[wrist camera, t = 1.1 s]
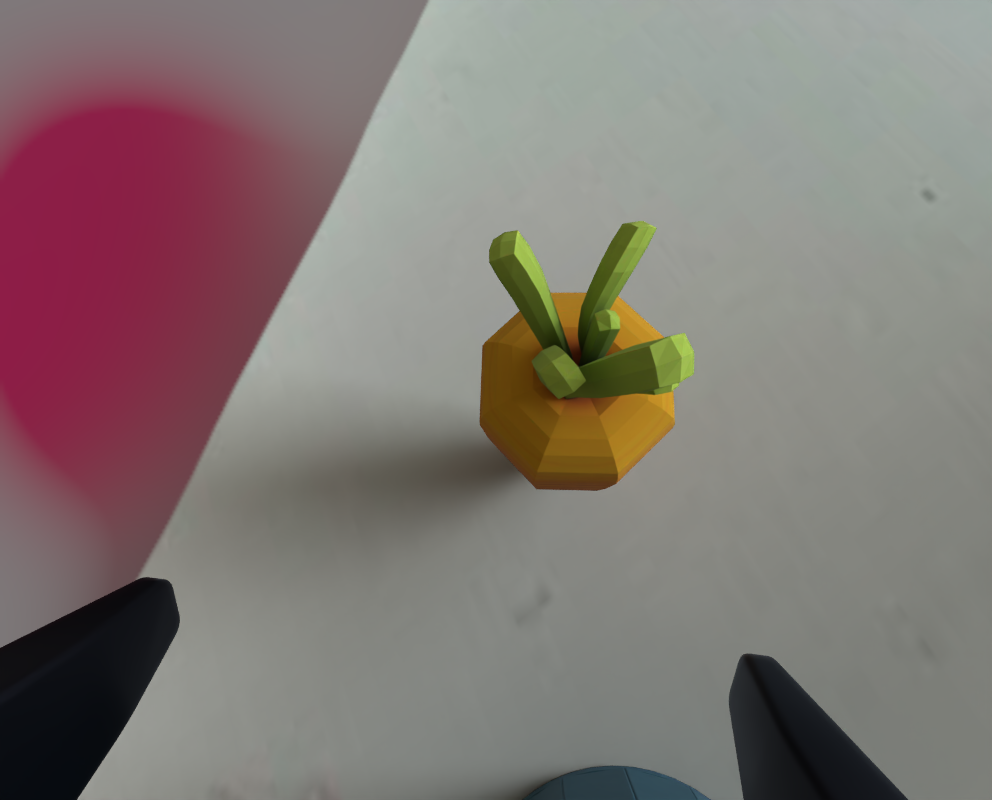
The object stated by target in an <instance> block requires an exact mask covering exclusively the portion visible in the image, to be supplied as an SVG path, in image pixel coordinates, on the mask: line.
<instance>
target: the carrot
mask: <svg viewBox="0 0 992 800" xmlns="http://www.w3.org/2000/svg"><path fill="white" fill-rule="evenodd" d="M656 229H657V228H655V227H654V226H652V225H650V224H648V223H646V222H644V221H638V222H632V223H625V224H622V226H621V227H620V229H619V230H618V232H617V234H616V235H615V237H614V238H613V240H612V241H611V243H610V245H609V247H608V249H607V251H606V253H605V255H604V257H603V258H602V260H601V262H600V264H599V267H598V269H597V271H596V273H595V275H594V278H593V280H592V282H591V284H590V286H589V289H588V291H587V293H550V290H549V288H548V285H547V282H546V279H545V277H544V274H543V271H542V269H541V267H540V265H539V263H538V261H537V259H536V258H535V256H534V254H533V252H532V250H531V248H530V246H529V245H528V243H527V242H526V241H525V239H524V238H523V237H522V236H521V234H520V233H519V232H518V230H517V231H510V232H504V233H503V234H501V235H500V236H498V237H497V238H495V239H493V242H492V244H491V247H490V249H489V263H490V264H491V266H492V268H493V270H494V271H495V273H496V275H497V277H498V278H499V280H500V281H501V283H502V284H503V286H504V287H505V288H506V290H507V291H508V293H509V294H510V296H511V297H512V299H513V300H514V302H515V304H516V305H517V307H518V309H519V310H520V311H519V312H518V313H517V314H516V315H515V316H514V317H512V318H511V319H510V320H509V321H508V322H507V323H506V324H505V325H504V326H503V327H502V328H500V329H499V330H498V331H497V332H496V333H495V334H494V335H493V336H492V337H491V338H489V339H488V340H487V341H486V342H485V343H484V345H483V348H482V374H481V400H480V426H481V427H482V429H483V431H484V432H485V434H486V435H487V437H488V438H489V439H490V440H491V441H492V443H493V444H494V445H495V446H496V447H497V448H498V449H499V450H500V451H501V452H502V453H503V454H504V455H505V456H506V458H507V459H508V460H509V461H510V462H511V463H512V464H513V465H514V466H515V467H516V468H517V469H518V470H519V471H520V472H521V473H522V474H523V475H524V476H525V477H526V478H527V479H528V481H529V482H530V483H531V484H532V485H533V486H534V487H535V488H536V489H553V490H593V491H597V490H601V489H606V488H608V487H610V486H612V485H614V484H616V483H617V482H618V481H619V480H620V479H621V478H622V477H623V476H624V475H625V474H626V473H627V472H628V471H629V470H630V469H631V468H632V467H634V466H635V465H636V464H637V463H638V462H639V461H640V460H641V459H642V458H643V457H644V456H645V455H646V454H647V453H648V452H649V451H650V450H651V449H652V448H653V447H654V446H655V445H656V444H657V443H658V442H659V441H660V440H661V439H662V438H663V437H664V436H665V435H666V434H667V433H668V432H669V431H670V430H671V429H672V428H673V426H674V425H675V418H674V395H673V390H674V389H675V388H677V387H678V386H679V382H682V381H683V380H685V379H686V378H688V377H690V376H691V375H693V374H694V351H693V349H692V347H691V345H690V343H689V341H688V339H687V337H686V335H685V333H682V334H678V335H673V336H669V337H665V338H664V337H663V336H662V335H661V334H660V333H659V332H658V331H656V330H655V329H654V328H653V327H652V326H651V325H650V324H649V323H648V322H646V321H645V320H644V319H643V318H642V317H641V316H640V315H639V314H638V313H636V312H635V311H634V310H633V309H632V308H631V307H630V306H629V305H627V304H626V303H625V302H624V301H623V300H622V299H621V298H620V297H619V296H618V295H619V293H620V291H621V290H622V288H623V286H624V285H625V283H626V282H627V280H628V278H629V277H630V275H631V273H632V272H633V270H634V268H635V267H636V265H637V263H638V262H639V260H640V258H641V257H642V255H643V253H644V252H645V250H646V248H647V247H648V245H649V243H650V241H651V239H652V237H653V235H654V233H655V231H656Z"/></svg>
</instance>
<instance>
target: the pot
mask: <svg viewBox="0 0 992 800" xmlns="http://www.w3.org/2000/svg"><path fill="white" fill-rule="evenodd" d="M523 800H710V799H709V798H707V797H706V796H704V795H703V794H702V793H700V792H699V791H697V790H696V789H694V788H692V787H691V786H688V785H686V784H684V783H682V782H680V781H678V780H676V779H674V778H672V777H669V776H666V775H663V774H660V773H657V772H655V771H650V770H645V769H640V768H636V767H625V766H603V767H591V768H587V769H583V770H579V771H575V772H571V773H568V774H566V775H564V776H561V777H559V778H556V779H554V780H552V781H550V782H548V783H546V784H545V785H543V786H541V787H540V788H538V789H536V790H534V791H533V792H532V793H531V794H529V795H528V796H527V797H526V798H524V799H523Z"/></svg>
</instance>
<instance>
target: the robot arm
mask: <svg viewBox="0 0 992 800" xmlns="http://www.w3.org/2000/svg"><path fill="white" fill-rule="evenodd" d="M179 623H180V616H179V612H178V607H177V603H176V599H175V595H174V590H173V587H172V584H171V583H170V582H169V581H168V580H165V579H158V578H150V577H144V578H140V579H138V580H136V581H134V582H132V583H130V584H128V585H126V586H124V587H122V588H120V589H118V590H116V591H114V592H112V593H110V594H108V595H106V596H104V597H102V598H100V599H98V600H96V601H94V602H92V603H90V604H88V605H86V606H84V607H82V608H80V609H78V610H76V611H74V612H72V613H70V614H68V615H66V616H63V617H61V618H59V619H58V620H55V621H54V622H51V623H49V624H47V625H45V626H44V627H41V628H39V629H37V630H35V631H34V632H31V633H30V634H27V635H25V636H23V637H21V638H19V639H17V640H15V641H13V642H11V643H9V644H7V645H5V646H3V647H1V648H0V800H77V799H78V797H79V796H80V794H81V793H82V791H83V790H84V788H85V787H86V785H87V784H88V782H89V781H90V779H91V778H92V776H93V775H94V773H95V772H96V770H97V769H98V767H99V766H100V764H101V763H102V761H103V760H104V758H105V757H106V755H107V754H108V752H109V751H110V749H111V748H112V746H113V745H114V743H115V742H116V740H117V738H118V737H119V735H120V734H121V732H122V731H123V729H124V727H125V726H126V724H127V722H128V721H129V719H130V717H131V715H132V714H133V712H134V710H135V709H136V707H137V705H138V703H139V701H140V699H141V698H142V696H143V694H144V692H145V690H146V688H147V687H148V685H149V683H150V681H151V679H152V677H153V676H154V674H155V672H156V670H157V668H158V666H159V665H160V663H161V661H162V659H163V657H164V655H165V654H166V652H167V650H168V648H169V646H170V644H171V643H172V641H173V639H174V637H175V635H176V633H177V631H178V628H179ZM729 708H730V715H731V721H732V728H733V734H734V740H735V747H736V753H737V759H738V766H739V772H740V779H741V785H742V791H743V798H744V800H908V799H907V798H906V797H905V796H904V795H903V794H902V793H901V792H900V791H899V789H898V788H897V787H896V786H895V785H894V784H893V783H892V782H891V781H890V780H889V779H888V778H887V777H886V776H885V775H884V774H883V773H882V772H881V771H880V769H879V768H878V767H877V766H876V765H875V764H874V763H873V762H872V761H871V760H870V759H869V758H868V757H867V756H866V755H865V754H864V753H863V752H862V751H861V749H860V748H859V747H858V746H857V745H856V744H855V743H854V742H853V741H852V740H851V739H850V738H849V737H848V736H847V735H846V734H845V733H844V732H843V731H842V729H841V728H840V727H839V726H838V725H837V724H836V723H835V722H834V721H833V720H832V719H831V718H830V717H829V716H828V715H827V714H826V713H825V712H824V711H823V709H822V708H821V707H820V706H819V705H818V704H817V703H816V702H815V701H814V700H813V699H812V698H811V697H810V696H809V695H808V694H807V693H806V692H805V690H804V689H803V688H802V687H801V686H800V685H799V684H798V683H797V682H796V681H795V680H794V679H793V678H792V677H791V676H790V675H789V674H788V673H787V672H786V670H785V669H784V668H783V667H782V666H781V665H780V664H779V663H778V662H777V661H776V660H775V659H773V658H772V657H769V656H763V655H756V654H748V653H747V654H743V655H742V656H741V658H740V660H739V663H738V666H737V669H736V673H735V676H734V679H733V683H732V686H731V689H730V694H729Z"/></svg>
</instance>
